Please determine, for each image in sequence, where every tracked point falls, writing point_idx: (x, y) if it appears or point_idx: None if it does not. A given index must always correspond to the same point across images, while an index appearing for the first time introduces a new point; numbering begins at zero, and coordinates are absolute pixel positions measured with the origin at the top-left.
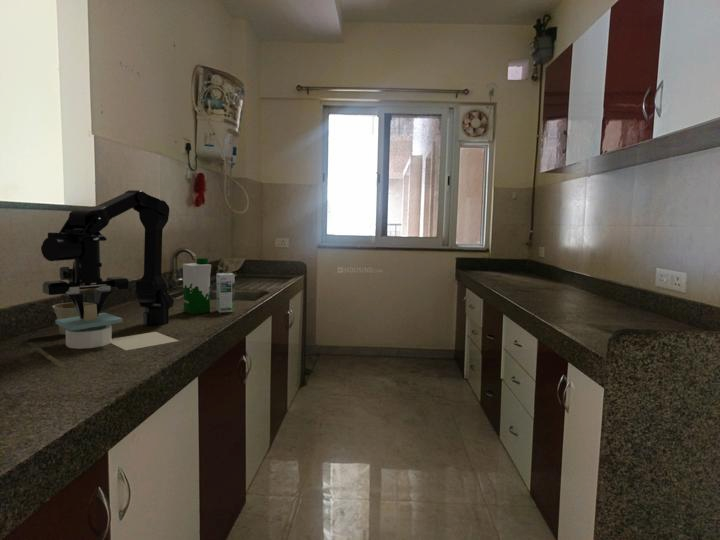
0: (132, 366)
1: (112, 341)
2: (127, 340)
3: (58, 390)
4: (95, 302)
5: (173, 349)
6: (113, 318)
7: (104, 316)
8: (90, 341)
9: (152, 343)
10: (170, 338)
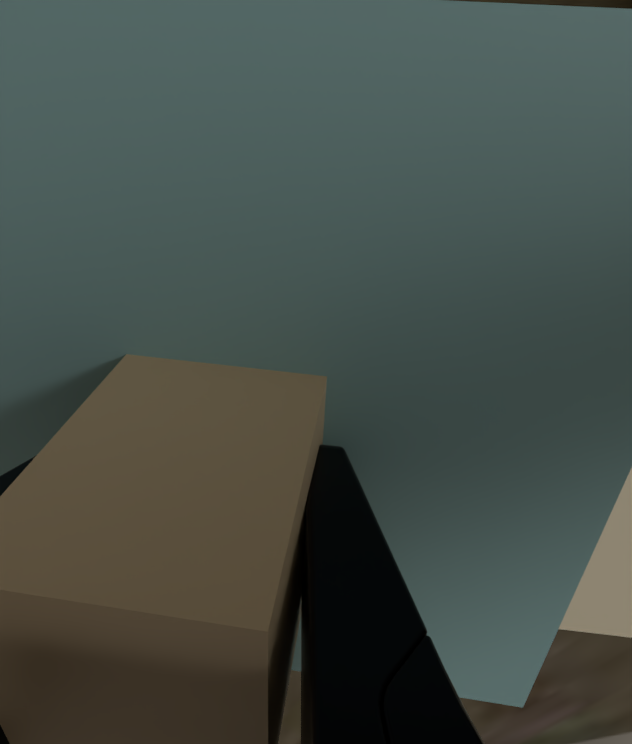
0: (299, 721)
1: None
2: None
3: None
4: (309, 726)
5: (615, 680)
6: (464, 639)
7: (481, 452)
8: None
9: (606, 599)
10: None
